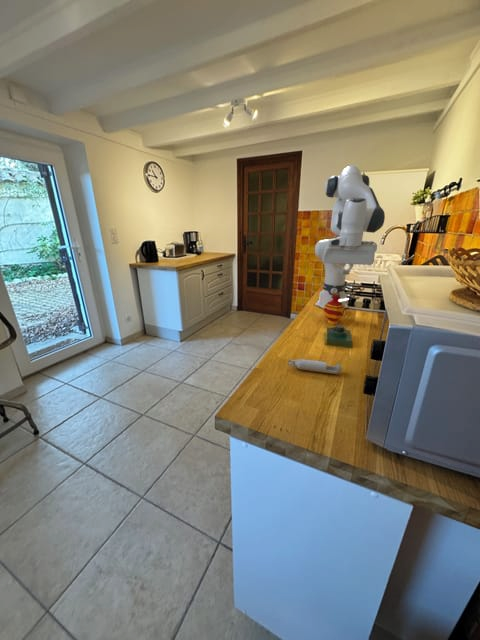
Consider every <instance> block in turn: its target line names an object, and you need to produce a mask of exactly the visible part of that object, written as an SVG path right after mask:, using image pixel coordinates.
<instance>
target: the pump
mask: <svg viewBox="0 0 480 640" xmlns="http://www.w3.org/2000/svg"><path fill="white" fill-rule="evenodd" d="M334 327H335V331H338V332H344V328H345V326H344V325H342V324H335V325H334Z"/></svg>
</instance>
